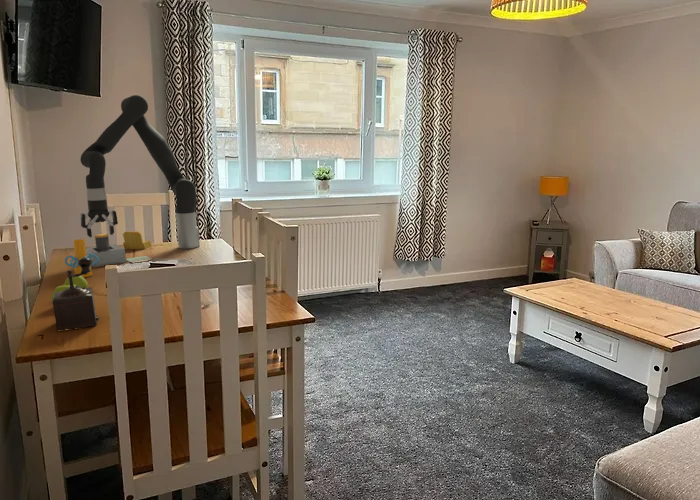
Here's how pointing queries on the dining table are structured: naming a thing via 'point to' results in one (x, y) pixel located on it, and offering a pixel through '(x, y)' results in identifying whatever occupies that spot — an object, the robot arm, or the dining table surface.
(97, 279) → the dining table surface
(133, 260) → the mat
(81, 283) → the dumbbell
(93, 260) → the housing
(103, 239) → the plug
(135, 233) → the yellow piece
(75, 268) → the yellow blue looped piece
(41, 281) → the dining table surface
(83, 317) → the coffee grinder
